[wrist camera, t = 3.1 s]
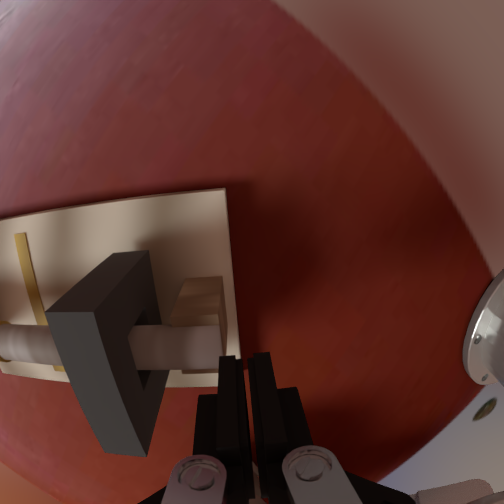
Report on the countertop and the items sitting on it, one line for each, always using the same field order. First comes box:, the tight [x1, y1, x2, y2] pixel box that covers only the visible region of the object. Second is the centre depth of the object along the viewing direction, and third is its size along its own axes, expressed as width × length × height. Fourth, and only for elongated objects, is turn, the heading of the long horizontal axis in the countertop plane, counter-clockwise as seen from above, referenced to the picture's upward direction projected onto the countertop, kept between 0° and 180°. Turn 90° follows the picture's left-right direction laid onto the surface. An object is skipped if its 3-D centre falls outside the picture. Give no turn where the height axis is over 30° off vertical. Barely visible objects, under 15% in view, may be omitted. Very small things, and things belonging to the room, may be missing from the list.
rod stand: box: [0, 188, 241, 387], centre depth 15 cm, size 20×12×7 cm, turn 94°
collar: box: [44, 250, 170, 457], centre depth 13 cm, size 2×7×7 cm, turn 4°
